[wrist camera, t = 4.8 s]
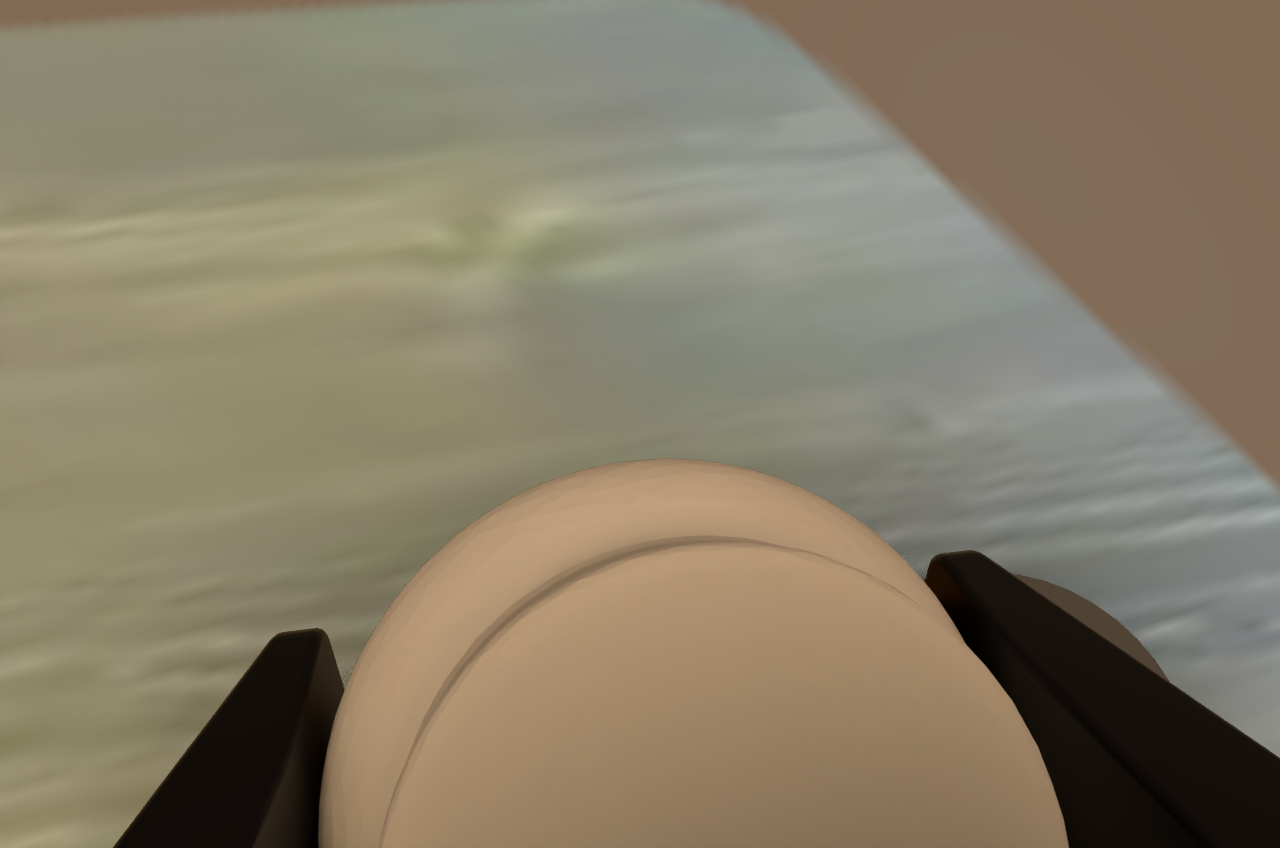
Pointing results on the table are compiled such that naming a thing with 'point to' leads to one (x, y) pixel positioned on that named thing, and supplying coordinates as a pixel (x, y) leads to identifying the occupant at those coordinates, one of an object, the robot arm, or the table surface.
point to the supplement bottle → (676, 684)
